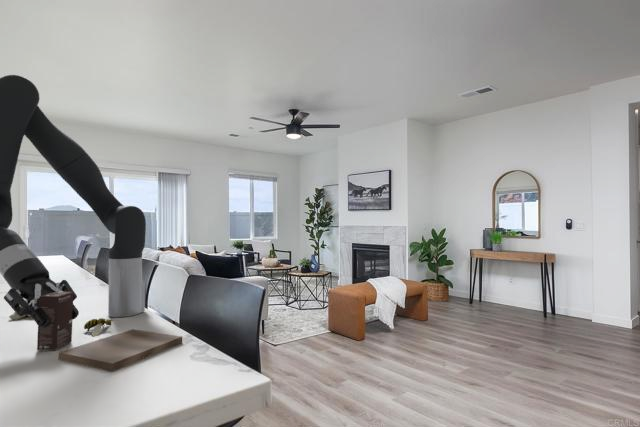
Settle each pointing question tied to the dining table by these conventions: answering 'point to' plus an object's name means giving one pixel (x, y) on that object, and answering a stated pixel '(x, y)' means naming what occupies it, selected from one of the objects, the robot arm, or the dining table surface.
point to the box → (56, 320)
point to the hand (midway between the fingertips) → (61, 320)
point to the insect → (97, 325)
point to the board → (120, 349)
